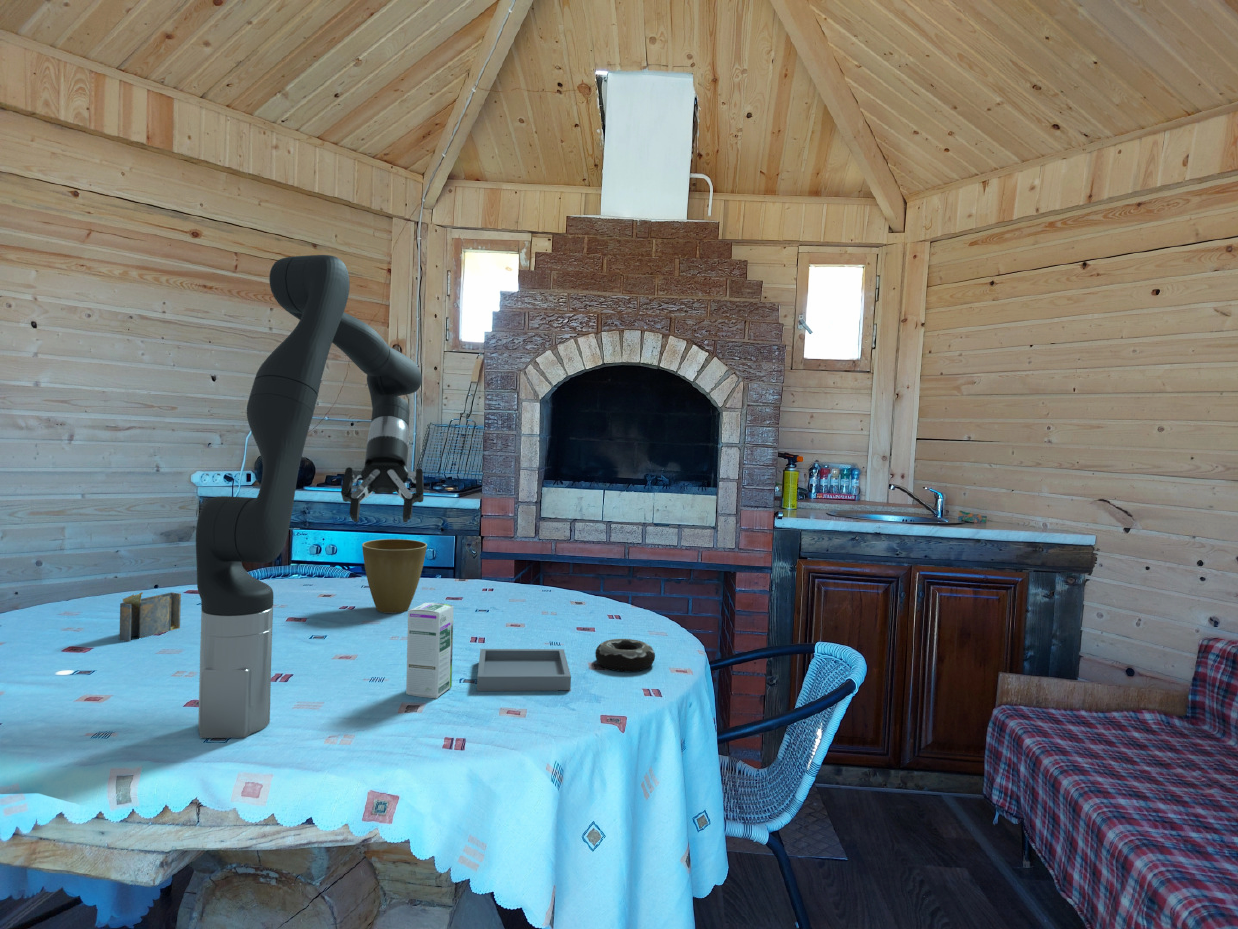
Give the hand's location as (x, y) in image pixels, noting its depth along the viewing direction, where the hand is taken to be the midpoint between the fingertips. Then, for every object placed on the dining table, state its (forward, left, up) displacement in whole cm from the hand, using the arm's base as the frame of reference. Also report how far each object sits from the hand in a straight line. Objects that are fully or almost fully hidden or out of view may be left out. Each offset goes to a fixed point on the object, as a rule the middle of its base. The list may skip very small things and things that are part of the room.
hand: (380, 520), depth 133 cm
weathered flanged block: (+24, +48, -28) cm, 60 cm away
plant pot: (+46, +4, -28) cm, 53 cm away
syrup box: (-10, -10, -28) cm, 31 cm away
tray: (-2, -26, -27) cm, 38 cm away
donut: (+5, -46, -28) cm, 54 cm away
